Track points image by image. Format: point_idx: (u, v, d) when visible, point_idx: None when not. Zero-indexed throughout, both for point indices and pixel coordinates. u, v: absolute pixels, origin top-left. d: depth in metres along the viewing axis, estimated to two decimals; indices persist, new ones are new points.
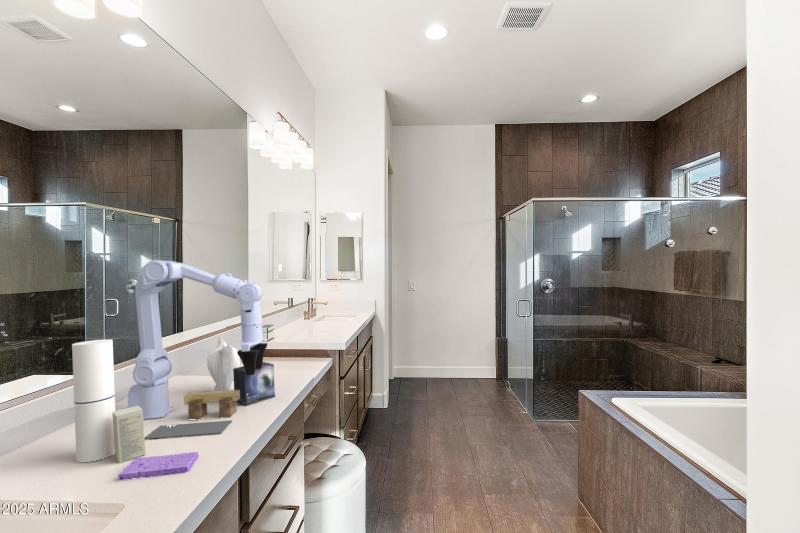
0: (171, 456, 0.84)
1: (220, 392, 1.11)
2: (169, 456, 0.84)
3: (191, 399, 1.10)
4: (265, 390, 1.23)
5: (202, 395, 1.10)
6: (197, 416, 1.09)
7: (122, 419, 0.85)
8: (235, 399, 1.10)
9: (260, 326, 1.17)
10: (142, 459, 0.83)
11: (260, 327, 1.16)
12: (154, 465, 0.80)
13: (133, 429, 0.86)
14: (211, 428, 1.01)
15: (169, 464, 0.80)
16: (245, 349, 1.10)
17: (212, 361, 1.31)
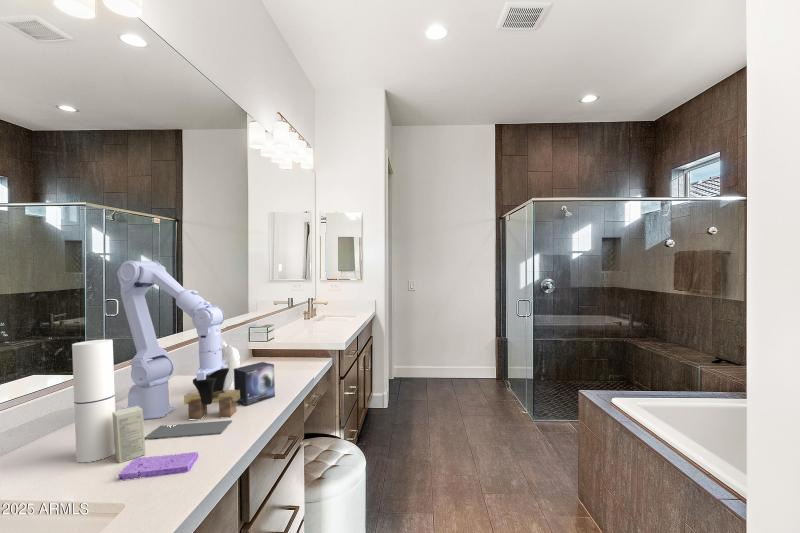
0: (171, 456, 0.84)
1: (220, 392, 1.11)
2: (169, 456, 0.84)
3: (191, 399, 1.10)
4: (266, 390, 1.23)
5: None
6: (197, 416, 1.09)
7: (122, 419, 0.85)
8: (235, 399, 1.10)
9: (219, 352, 1.11)
10: (142, 459, 0.83)
11: (219, 353, 1.11)
12: (154, 465, 0.80)
13: (133, 429, 0.86)
14: (211, 428, 1.01)
15: (169, 464, 0.80)
16: (200, 378, 1.04)
17: None
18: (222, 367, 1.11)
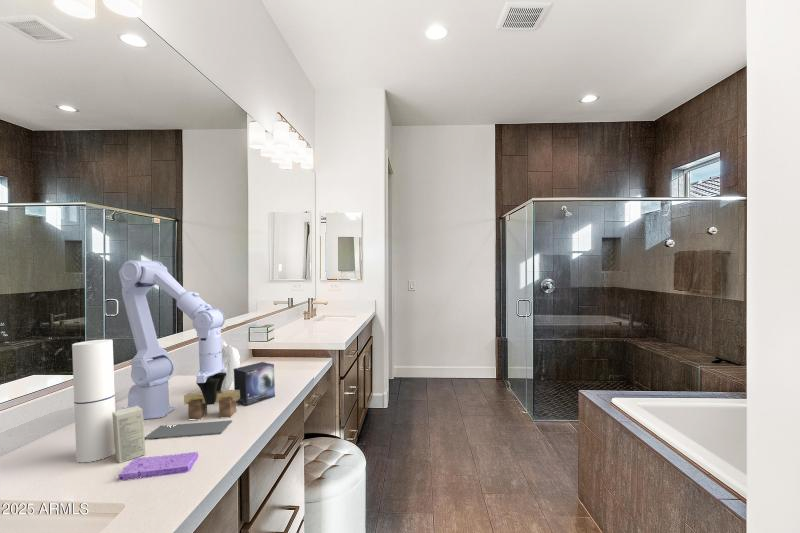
0: (171, 456, 0.84)
1: (220, 392, 1.11)
2: (169, 456, 0.84)
3: (191, 399, 1.10)
4: (266, 390, 1.23)
5: (202, 395, 1.10)
6: (197, 416, 1.09)
7: (122, 419, 0.85)
8: (235, 399, 1.10)
9: (219, 354, 1.11)
10: (141, 459, 0.83)
11: (219, 356, 1.11)
12: (154, 465, 0.80)
13: (133, 429, 0.86)
14: (211, 428, 1.01)
15: (169, 464, 0.80)
16: (200, 380, 1.04)
17: None
18: (222, 370, 1.11)
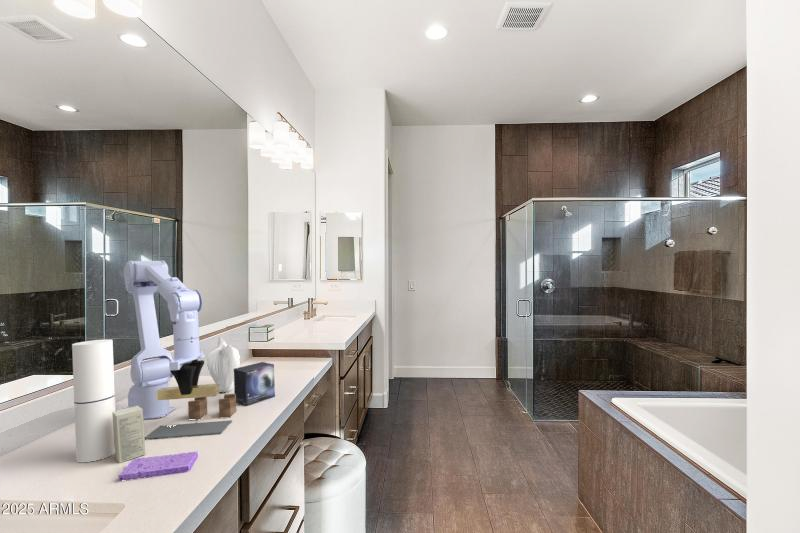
0: (170, 456, 0.84)
1: (197, 387, 1.01)
2: (168, 456, 0.84)
3: (165, 394, 1.00)
4: (266, 390, 1.23)
5: (177, 390, 1.00)
6: (197, 416, 1.09)
7: (122, 419, 0.85)
8: (213, 394, 1.01)
9: (196, 340, 1.01)
10: (141, 459, 0.83)
11: (196, 341, 1.01)
12: (154, 465, 0.80)
13: (133, 429, 0.86)
14: (211, 428, 1.01)
15: (169, 464, 0.80)
16: (174, 368, 0.94)
17: (212, 361, 1.31)
18: (199, 357, 1.01)
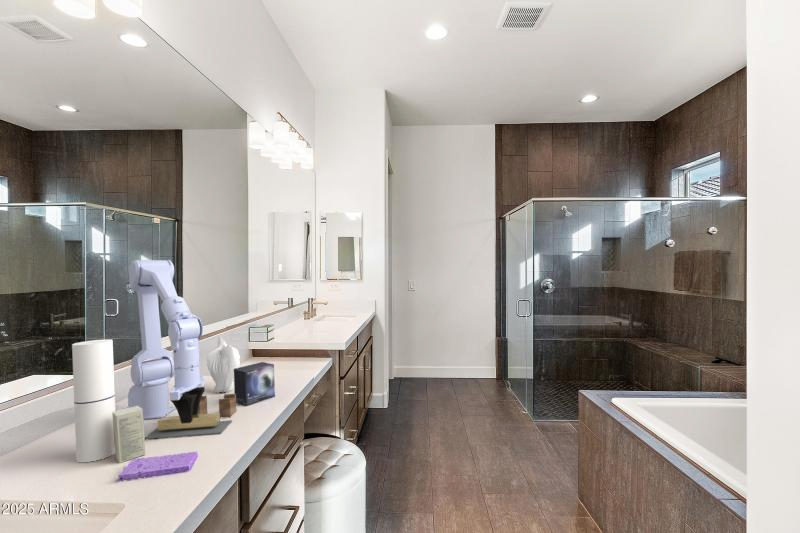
0: (170, 456, 0.84)
1: (198, 416, 1.01)
2: (168, 456, 0.84)
3: (166, 424, 0.99)
4: (266, 390, 1.23)
5: (177, 420, 1.00)
6: None
7: (122, 419, 0.85)
8: (214, 424, 1.00)
9: (196, 368, 1.01)
10: (140, 460, 0.83)
11: (196, 369, 1.01)
12: (154, 465, 0.80)
13: (133, 429, 0.86)
14: (211, 428, 1.01)
15: (169, 464, 0.80)
16: (174, 398, 0.94)
17: (212, 361, 1.31)
18: (199, 385, 1.00)
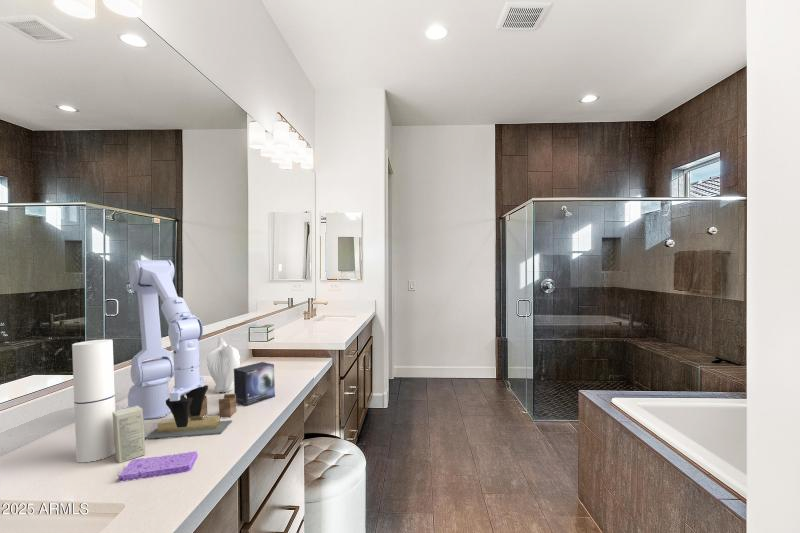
0: (170, 456, 0.84)
1: (198, 419, 1.01)
2: (168, 456, 0.84)
3: (166, 426, 0.99)
4: (266, 390, 1.23)
5: None
6: (197, 416, 1.09)
7: (122, 419, 0.85)
8: (214, 427, 1.00)
9: (196, 369, 1.01)
10: (140, 460, 0.82)
11: (196, 370, 1.01)
12: (154, 465, 0.80)
13: (133, 429, 0.86)
14: None
15: (170, 464, 0.80)
16: (174, 398, 0.94)
17: (212, 361, 1.31)
18: (199, 385, 1.00)
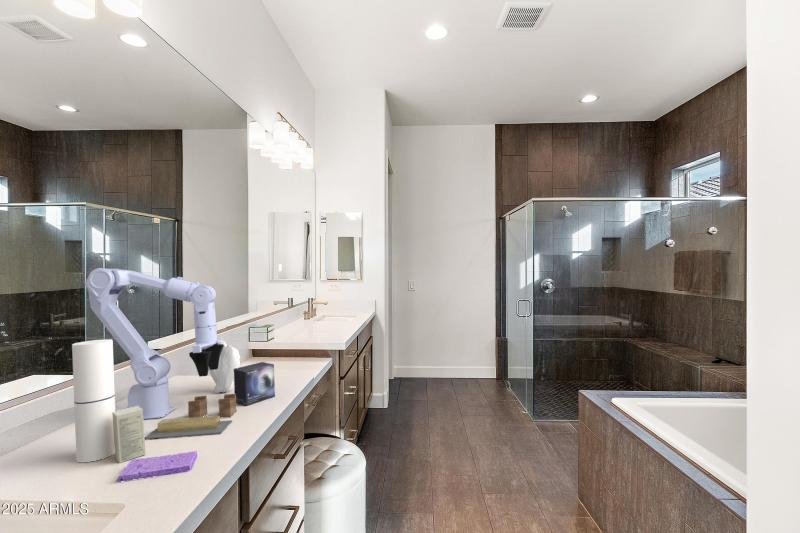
0: (170, 456, 0.84)
1: (198, 419, 1.01)
2: (167, 456, 0.84)
3: (166, 426, 0.99)
4: (266, 390, 1.23)
5: (177, 422, 1.00)
6: (197, 416, 1.09)
7: (122, 419, 0.85)
8: (214, 427, 1.00)
9: (214, 327, 1.17)
10: (139, 460, 0.82)
11: (214, 328, 1.17)
12: (154, 466, 0.80)
13: (133, 429, 0.86)
14: None
15: (170, 464, 0.80)
16: (196, 350, 1.11)
17: None
18: (217, 342, 1.17)
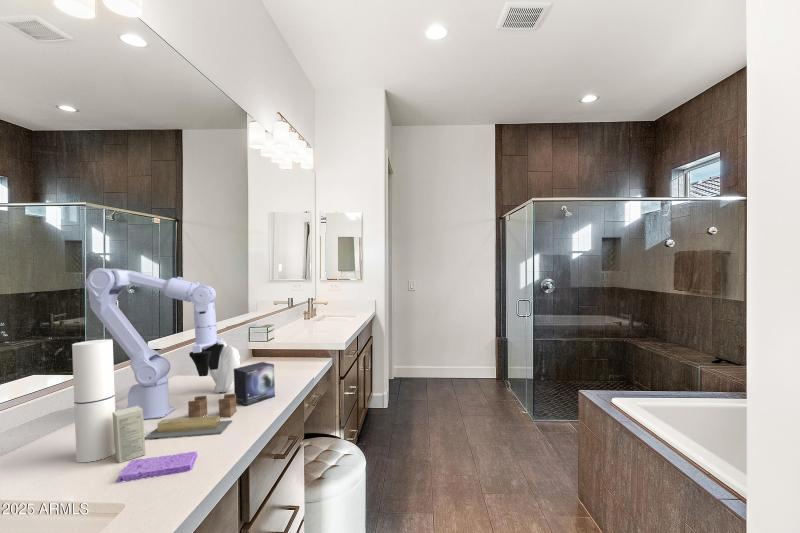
0: (169, 456, 0.84)
1: (198, 419, 1.01)
2: (167, 456, 0.84)
3: (166, 426, 0.99)
4: (266, 390, 1.23)
5: (177, 422, 1.00)
6: (197, 416, 1.09)
7: (122, 419, 0.85)
8: (214, 427, 1.00)
9: (214, 327, 1.18)
10: (139, 461, 0.82)
11: (214, 328, 1.17)
12: (154, 466, 0.80)
13: (133, 429, 0.86)
14: None
15: (170, 464, 0.80)
16: (196, 350, 1.11)
17: None
18: (217, 342, 1.17)
